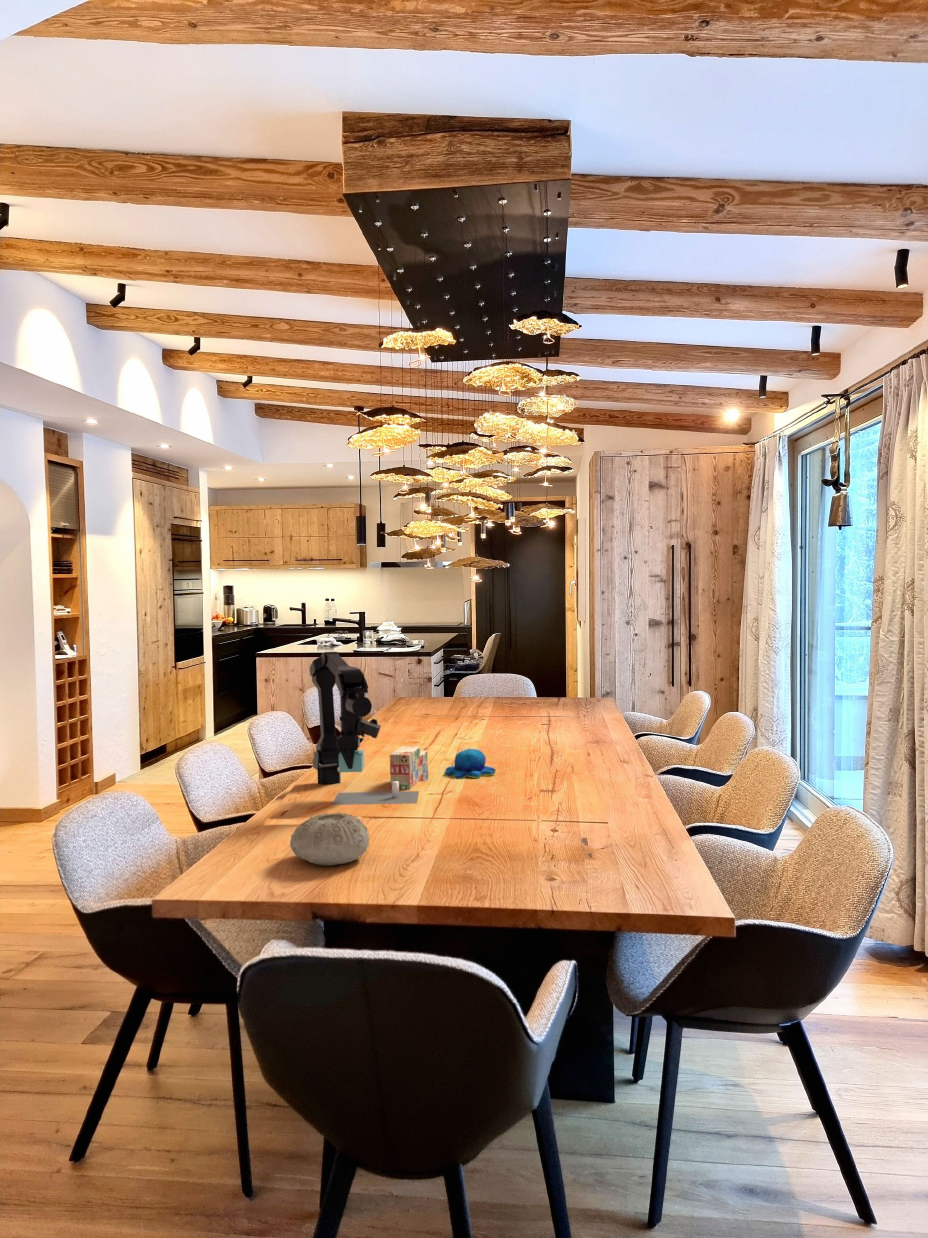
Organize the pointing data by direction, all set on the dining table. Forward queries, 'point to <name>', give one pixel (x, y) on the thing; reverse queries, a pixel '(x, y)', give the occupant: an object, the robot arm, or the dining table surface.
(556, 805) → the dining table surface
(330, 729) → the robot arm
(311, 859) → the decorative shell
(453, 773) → the plush toy
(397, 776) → the stack of blocks
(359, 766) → the teal hollow block
